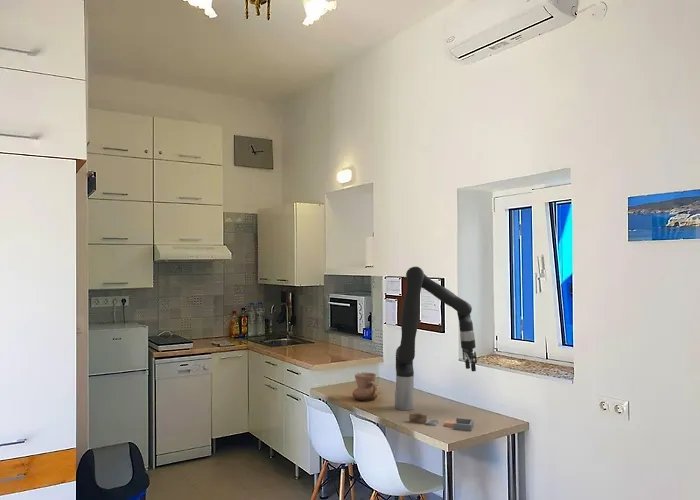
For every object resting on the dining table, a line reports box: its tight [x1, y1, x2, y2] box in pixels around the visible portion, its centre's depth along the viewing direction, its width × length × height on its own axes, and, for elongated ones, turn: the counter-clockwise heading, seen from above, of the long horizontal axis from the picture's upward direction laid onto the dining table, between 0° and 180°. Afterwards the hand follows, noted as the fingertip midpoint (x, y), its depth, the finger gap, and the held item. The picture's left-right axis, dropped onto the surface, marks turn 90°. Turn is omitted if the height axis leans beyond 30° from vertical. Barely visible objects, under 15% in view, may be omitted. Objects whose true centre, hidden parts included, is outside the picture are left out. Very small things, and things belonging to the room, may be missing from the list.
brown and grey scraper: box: [409, 412, 439, 427], centre depth 262 cm, size 13×7×4 cm, turn 72°
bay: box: [453, 417, 475, 432], centre depth 256 cm, size 8×11×2 cm
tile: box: [444, 419, 457, 428], centre depth 258 cm, size 5×5×2 cm
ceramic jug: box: [351, 372, 379, 402], centre depth 309 cm, size 18×14×14 cm
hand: (470, 369), depth 290 cm, fingers open, 8 cm apart
